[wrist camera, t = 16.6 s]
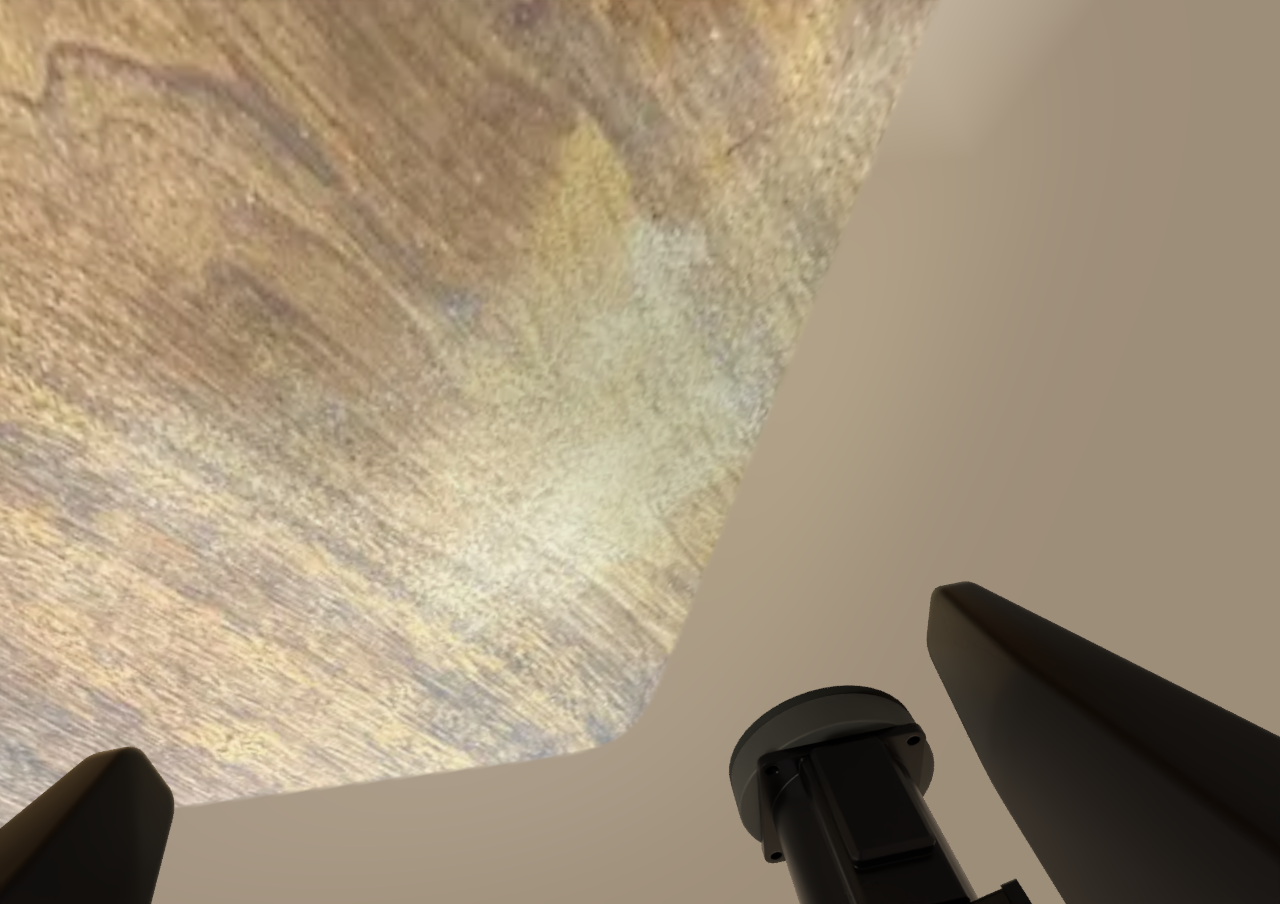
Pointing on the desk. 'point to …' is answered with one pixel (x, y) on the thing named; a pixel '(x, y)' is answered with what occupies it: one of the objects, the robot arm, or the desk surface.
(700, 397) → the desk surface
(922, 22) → the desk surface
